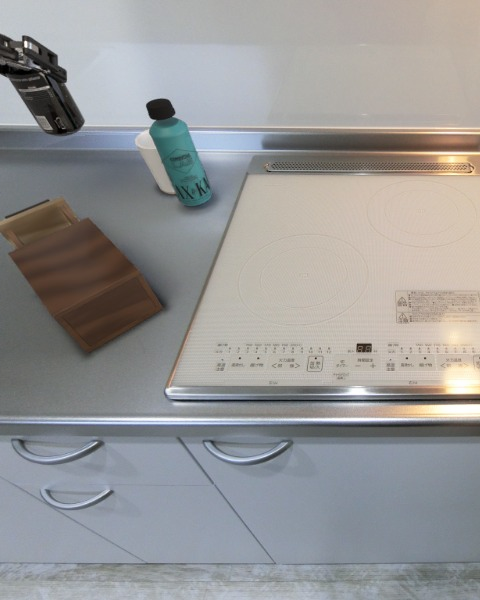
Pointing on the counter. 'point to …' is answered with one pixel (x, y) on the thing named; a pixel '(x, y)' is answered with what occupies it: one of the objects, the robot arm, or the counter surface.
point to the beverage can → (46, 100)
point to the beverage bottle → (178, 153)
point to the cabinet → (86, 283)
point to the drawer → (37, 222)
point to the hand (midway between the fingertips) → (42, 76)
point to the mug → (154, 161)
